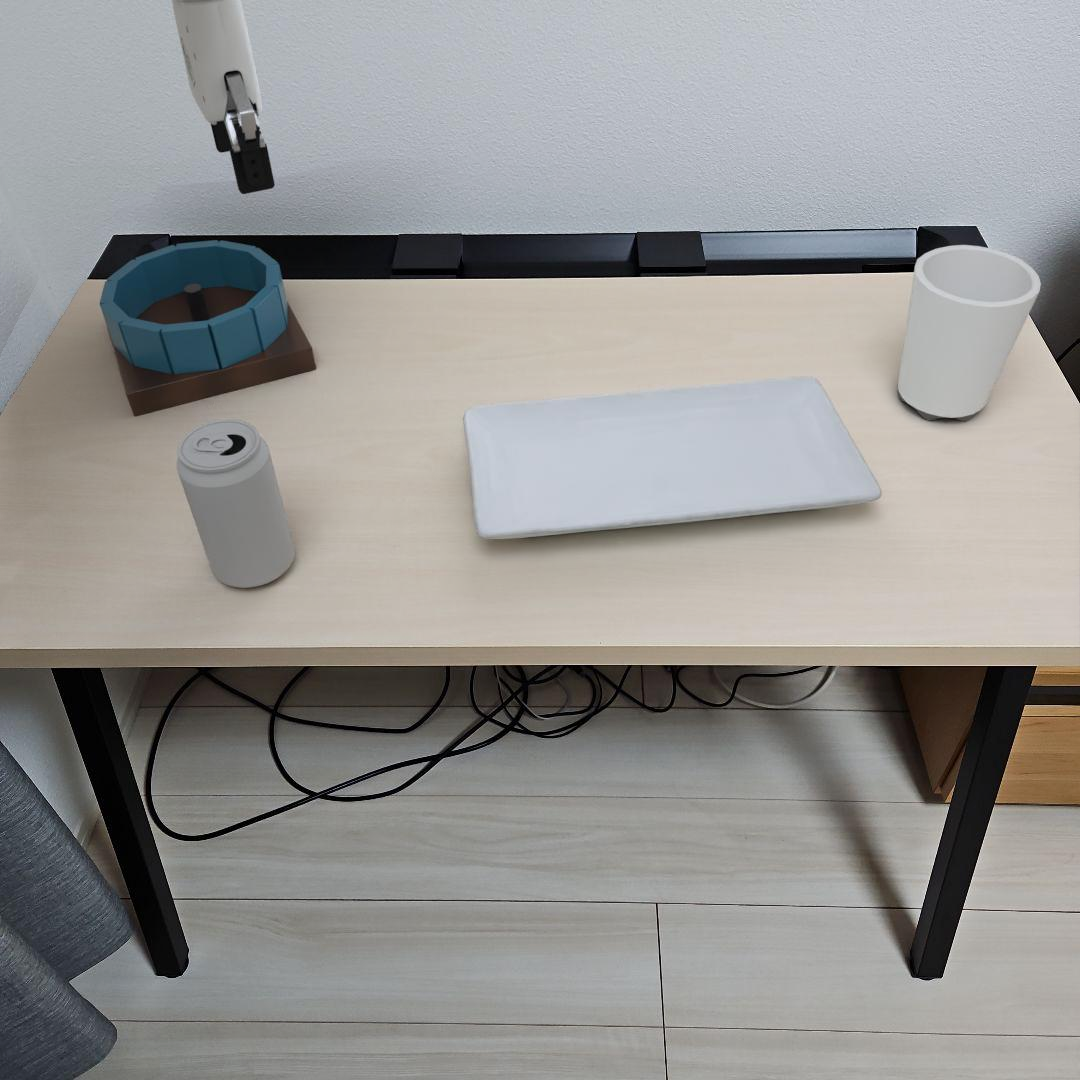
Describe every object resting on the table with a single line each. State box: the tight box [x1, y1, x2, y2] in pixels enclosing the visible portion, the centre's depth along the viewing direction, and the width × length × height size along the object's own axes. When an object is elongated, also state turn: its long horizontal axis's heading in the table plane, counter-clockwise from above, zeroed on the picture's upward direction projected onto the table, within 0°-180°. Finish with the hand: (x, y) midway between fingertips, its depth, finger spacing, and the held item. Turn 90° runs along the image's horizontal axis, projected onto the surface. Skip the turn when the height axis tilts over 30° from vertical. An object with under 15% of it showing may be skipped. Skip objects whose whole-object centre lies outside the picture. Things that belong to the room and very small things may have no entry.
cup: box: [897, 244, 1042, 422], centre depth 90 cm, size 10×10×13 cm
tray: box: [462, 375, 883, 540], centre depth 86 cm, size 17×32×4 cm, turn 97°
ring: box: [99, 239, 289, 374], centre depth 99 cm, size 17×17×4 cm
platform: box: [104, 284, 317, 417], centre depth 101 cm, size 17×17×6 cm
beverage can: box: [176, 418, 296, 589], centre depth 77 cm, size 6×6×12 cm
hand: (245, 168), depth 98 cm, fingers open, 9 cm apart
